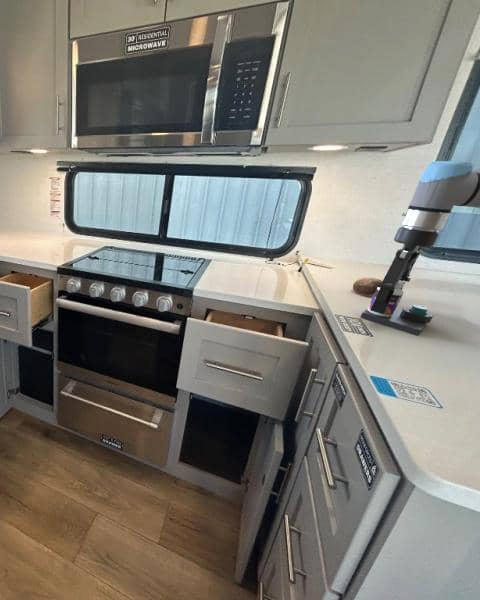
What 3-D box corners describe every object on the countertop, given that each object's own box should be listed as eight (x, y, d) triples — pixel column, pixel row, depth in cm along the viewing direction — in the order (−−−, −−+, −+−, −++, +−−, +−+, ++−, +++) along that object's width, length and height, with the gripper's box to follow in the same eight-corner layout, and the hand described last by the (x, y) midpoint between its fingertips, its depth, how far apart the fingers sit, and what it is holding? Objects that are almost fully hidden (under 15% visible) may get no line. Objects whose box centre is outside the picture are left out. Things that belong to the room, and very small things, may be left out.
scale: (428, 325, 90) (434, 313, 88) (420, 337, 83) (426, 324, 81) (371, 308, 99) (376, 297, 97) (359, 318, 91) (364, 306, 90)
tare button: (425, 314, 89) (428, 308, 88) (423, 316, 87) (427, 310, 86) (411, 309, 91) (414, 304, 90) (408, 312, 89) (411, 306, 88)
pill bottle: (365, 312, 91) (380, 279, 87) (368, 307, 94) (383, 275, 91) (390, 319, 87) (407, 285, 84) (393, 314, 91) (409, 281, 87)
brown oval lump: (384, 284, 110) (380, 270, 108) (388, 300, 105) (385, 285, 103) (353, 289, 116) (350, 276, 113) (356, 304, 111) (352, 290, 108)
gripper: (409, 222, 91) (377, 293, 100) (388, 229, 77) (353, 311, 86) (447, 227, 86) (410, 302, 95) (432, 235, 72) (389, 322, 80)
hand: (383, 306), depth 90 cm, fingers open, 12 cm apart
